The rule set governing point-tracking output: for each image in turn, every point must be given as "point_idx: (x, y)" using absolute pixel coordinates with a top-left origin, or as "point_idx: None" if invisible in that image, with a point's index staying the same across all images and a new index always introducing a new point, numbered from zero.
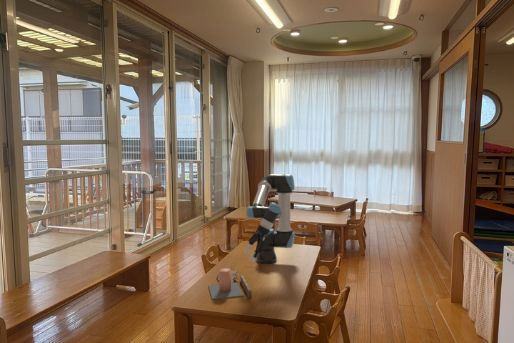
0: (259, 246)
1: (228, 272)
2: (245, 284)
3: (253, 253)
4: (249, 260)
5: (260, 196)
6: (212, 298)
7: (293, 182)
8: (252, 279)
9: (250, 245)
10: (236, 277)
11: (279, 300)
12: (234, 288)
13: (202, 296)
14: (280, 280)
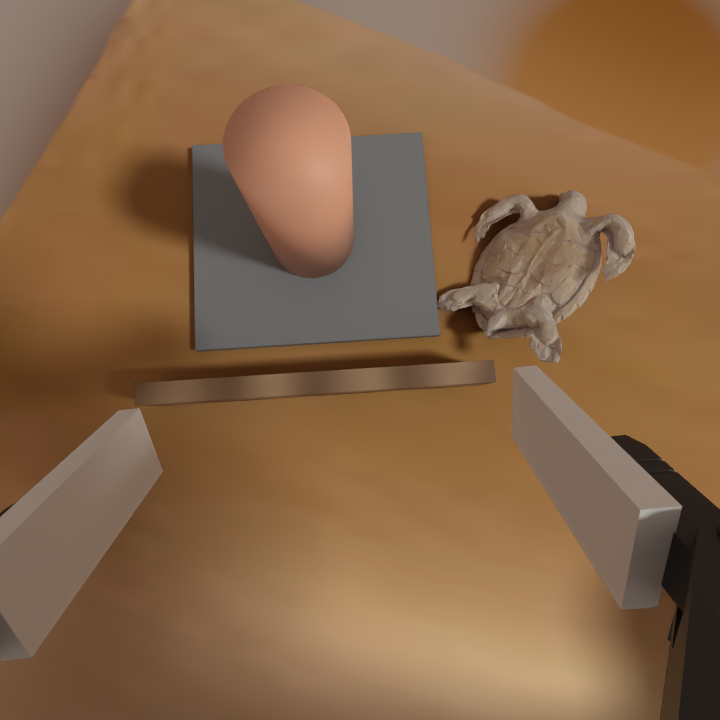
0: None
1: (235, 179)
2: (273, 375)
3: (16, 515)
4: (136, 410)
5: None
6: (197, 148)
7: None
8: (493, 464)
9: (613, 539)
10: (486, 330)
11: None
12: (328, 303)
13: None
14: (431, 701)
